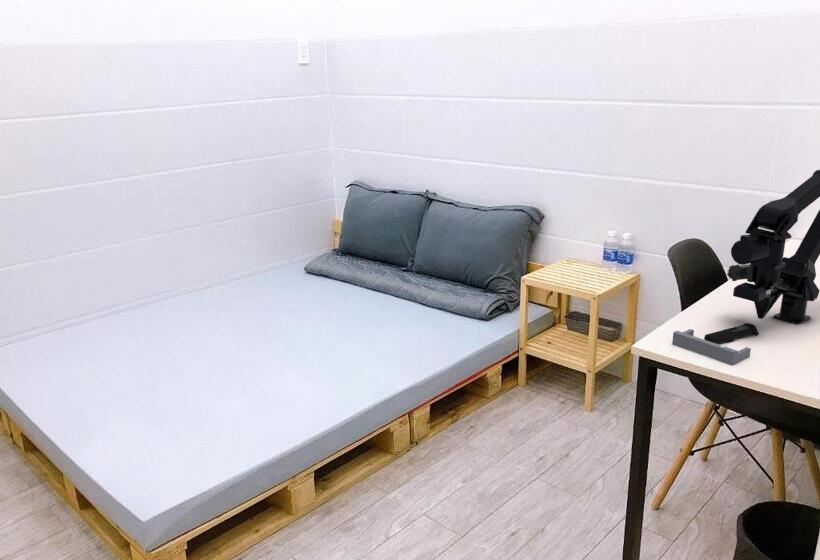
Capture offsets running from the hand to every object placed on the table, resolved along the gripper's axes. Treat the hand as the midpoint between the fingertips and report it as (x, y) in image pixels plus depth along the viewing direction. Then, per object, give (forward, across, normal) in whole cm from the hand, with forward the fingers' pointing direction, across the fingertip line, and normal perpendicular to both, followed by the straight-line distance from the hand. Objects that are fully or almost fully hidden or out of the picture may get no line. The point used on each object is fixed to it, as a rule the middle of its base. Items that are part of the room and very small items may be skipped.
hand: (760, 318), depth 168 cm
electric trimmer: (+3, +12, -1) cm, 12 cm away
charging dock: (+2, +22, 0) cm, 22 cm away
